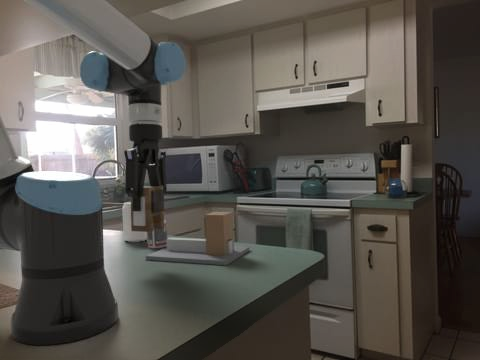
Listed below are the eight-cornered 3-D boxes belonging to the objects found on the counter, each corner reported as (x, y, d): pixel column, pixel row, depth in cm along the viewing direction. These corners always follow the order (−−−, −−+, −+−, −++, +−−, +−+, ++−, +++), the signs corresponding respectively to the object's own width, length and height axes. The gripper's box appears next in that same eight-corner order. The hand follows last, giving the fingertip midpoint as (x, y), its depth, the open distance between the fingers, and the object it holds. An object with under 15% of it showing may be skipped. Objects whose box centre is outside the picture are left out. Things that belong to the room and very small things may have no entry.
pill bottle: (169, 244, 123) (168, 211, 123) (164, 248, 118) (163, 213, 117) (151, 244, 124) (149, 211, 124) (144, 248, 118) (143, 214, 118)
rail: (226, 265, 97) (224, 218, 96) (145, 259, 105) (143, 216, 104) (249, 250, 112) (248, 209, 111) (177, 246, 120) (176, 208, 119)
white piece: (121, 239, 134) (120, 202, 133) (147, 236, 137) (145, 200, 137) (126, 243, 126) (124, 204, 126) (152, 240, 130) (151, 202, 129)
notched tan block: (152, 232, 93) (151, 187, 93) (131, 231, 95) (130, 187, 95) (166, 228, 99) (165, 186, 99) (146, 227, 101) (145, 186, 101)
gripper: (134, 119, 87) (137, 230, 87) (180, 127, 104) (182, 219, 105) (105, 121, 89) (108, 228, 90) (154, 128, 107) (156, 218, 108)
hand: (147, 223), depth 97 cm, fingers closed on notched tan block, 6 cm apart
